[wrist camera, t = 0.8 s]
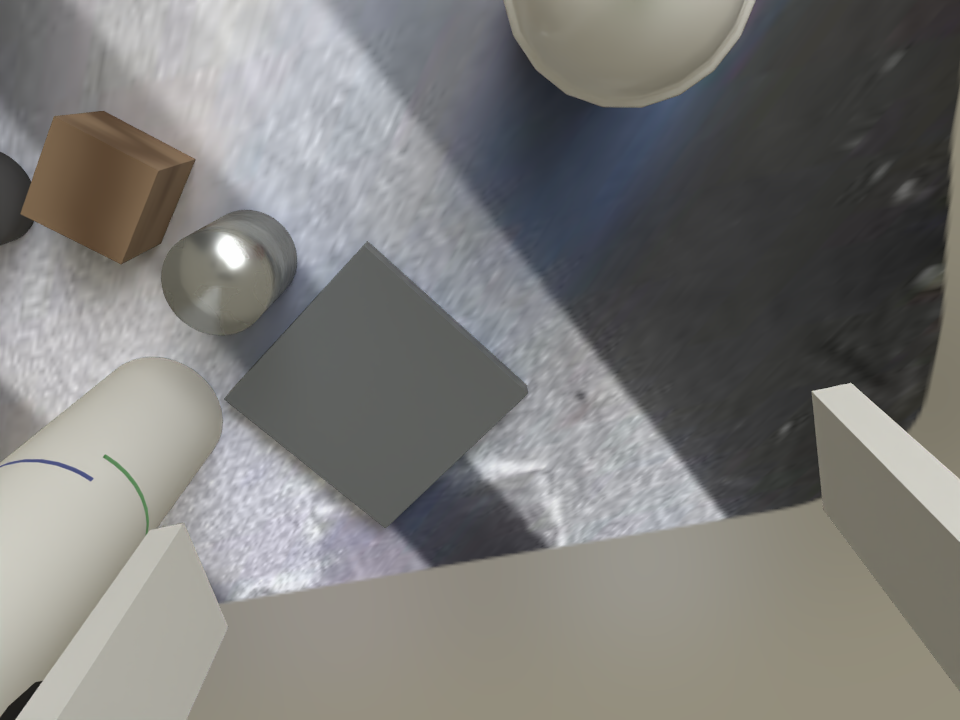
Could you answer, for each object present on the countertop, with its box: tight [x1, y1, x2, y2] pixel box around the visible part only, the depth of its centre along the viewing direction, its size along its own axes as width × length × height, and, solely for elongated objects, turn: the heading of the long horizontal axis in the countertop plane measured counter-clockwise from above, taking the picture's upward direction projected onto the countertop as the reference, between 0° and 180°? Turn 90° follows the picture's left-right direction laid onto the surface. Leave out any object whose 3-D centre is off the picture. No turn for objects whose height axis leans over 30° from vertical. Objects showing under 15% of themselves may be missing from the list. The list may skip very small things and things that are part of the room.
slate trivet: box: [224, 241, 528, 528], centre depth 45 cm, size 12×12×1 cm
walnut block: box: [20, 111, 195, 264], centre depth 39 cm, size 5×5×5 cm
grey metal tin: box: [161, 210, 297, 335], centre depth 40 cm, size 5×5×6 cm
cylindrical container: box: [0, 357, 223, 717], centre depth 35 cm, size 7×7×25 cm
